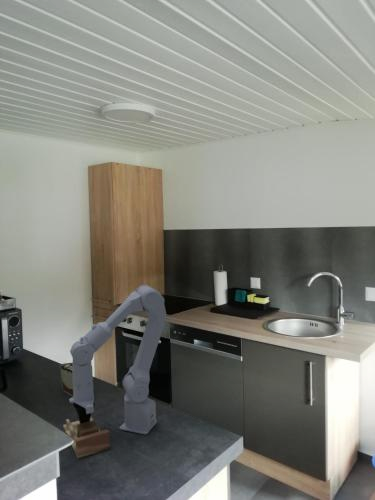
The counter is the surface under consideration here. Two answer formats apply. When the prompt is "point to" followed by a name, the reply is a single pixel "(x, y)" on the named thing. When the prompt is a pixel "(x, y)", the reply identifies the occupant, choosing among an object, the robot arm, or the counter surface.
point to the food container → (67, 378)
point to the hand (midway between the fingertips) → (84, 426)
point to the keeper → (87, 428)
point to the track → (87, 440)
